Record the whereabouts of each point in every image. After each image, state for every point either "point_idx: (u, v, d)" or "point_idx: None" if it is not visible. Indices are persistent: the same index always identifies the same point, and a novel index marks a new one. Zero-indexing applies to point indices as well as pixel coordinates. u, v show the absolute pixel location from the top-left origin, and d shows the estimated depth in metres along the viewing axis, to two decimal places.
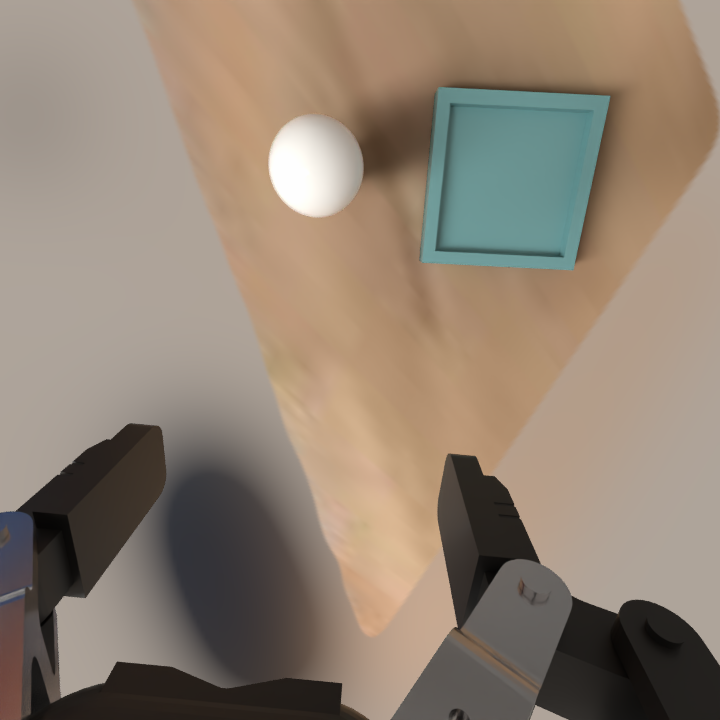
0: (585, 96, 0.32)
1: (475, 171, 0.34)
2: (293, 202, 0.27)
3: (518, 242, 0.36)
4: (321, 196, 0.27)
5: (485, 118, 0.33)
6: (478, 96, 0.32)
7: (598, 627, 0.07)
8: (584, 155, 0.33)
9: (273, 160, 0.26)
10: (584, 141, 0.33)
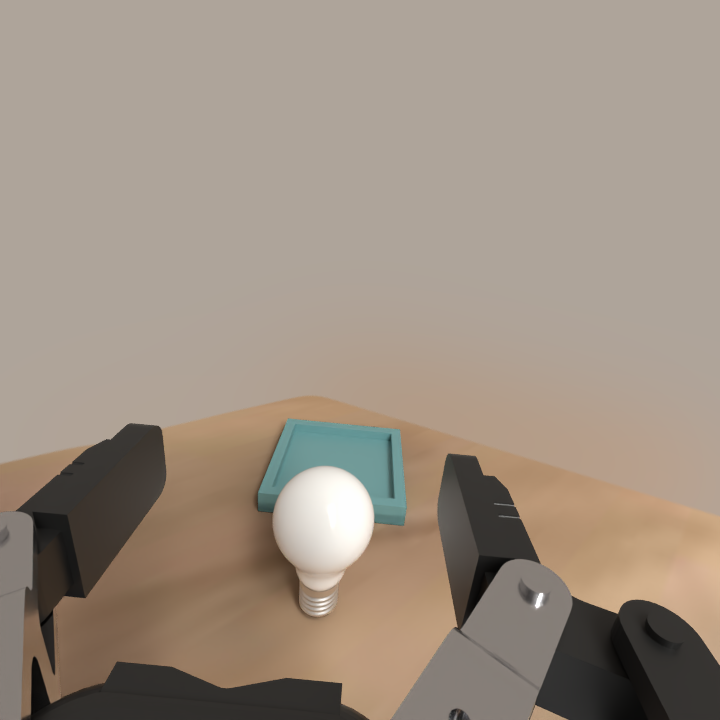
0: (286, 426, 0.47)
1: None
2: (361, 513, 0.25)
3: (381, 459, 0.45)
4: (357, 481, 0.26)
5: (286, 475, 0.41)
6: (271, 471, 0.39)
7: (598, 627, 0.07)
8: (322, 426, 0.48)
9: (317, 521, 0.23)
10: (312, 430, 0.48)
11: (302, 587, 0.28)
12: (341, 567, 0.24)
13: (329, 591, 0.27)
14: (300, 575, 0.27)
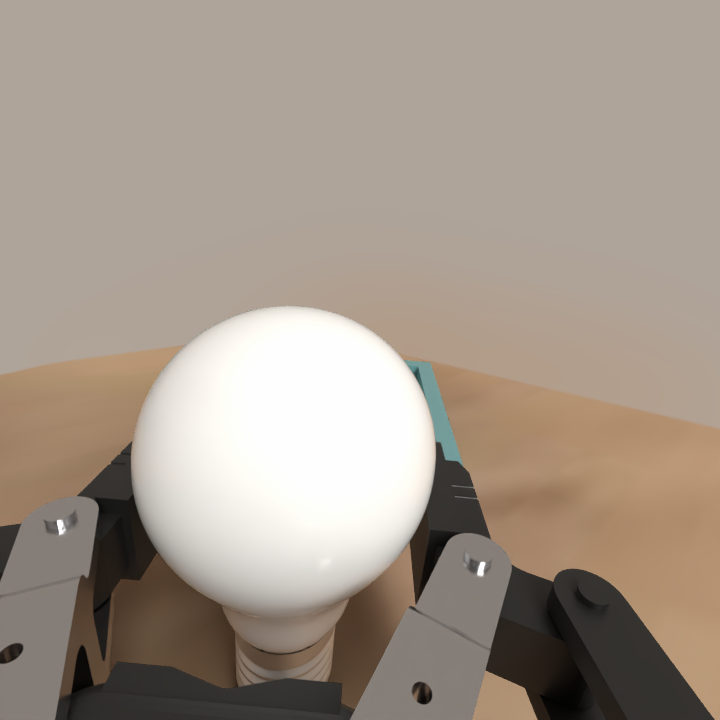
0: None
1: None
2: (407, 415, 0.08)
3: None
4: (385, 342, 0.09)
5: None
6: None
7: (536, 594, 0.08)
8: None
9: (254, 426, 0.06)
10: None
11: (238, 640, 0.10)
12: (341, 593, 0.07)
13: (309, 652, 0.10)
14: (226, 611, 0.09)
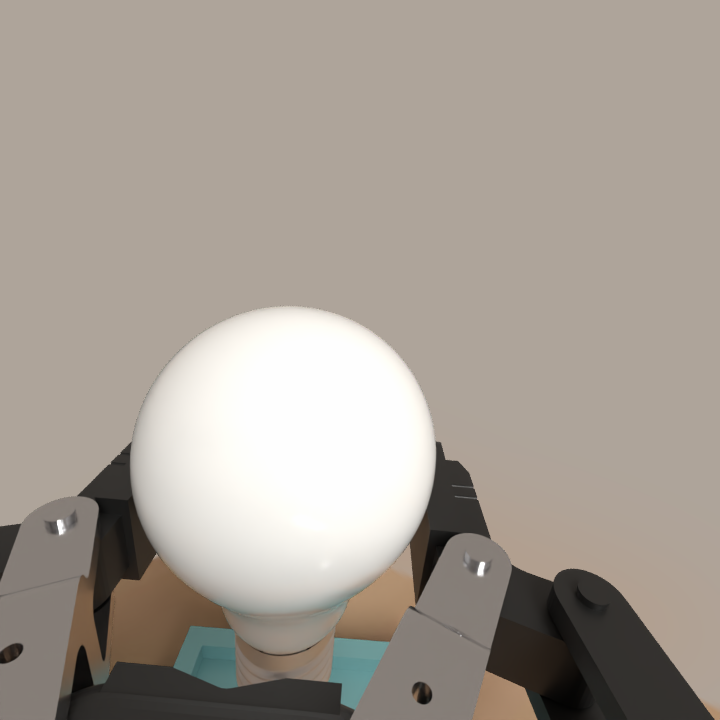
0: (179, 660, 0.22)
1: None
2: (408, 415, 0.08)
3: None
4: (385, 342, 0.09)
5: None
6: None
7: (537, 594, 0.08)
8: None
9: (253, 427, 0.06)
10: None
11: (238, 641, 0.10)
12: (341, 595, 0.07)
13: (309, 653, 0.10)
14: (226, 613, 0.09)
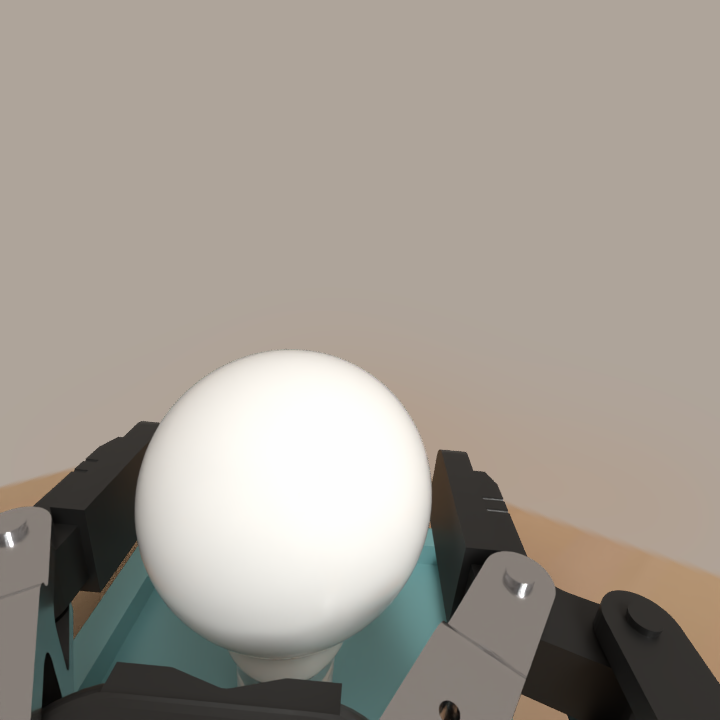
0: None
1: None
2: (403, 464, 0.08)
3: None
4: (382, 385, 0.09)
5: None
6: None
7: (581, 617, 0.07)
8: None
9: (255, 484, 0.07)
10: None
11: (240, 671, 0.11)
12: (340, 639, 0.08)
13: None
14: None
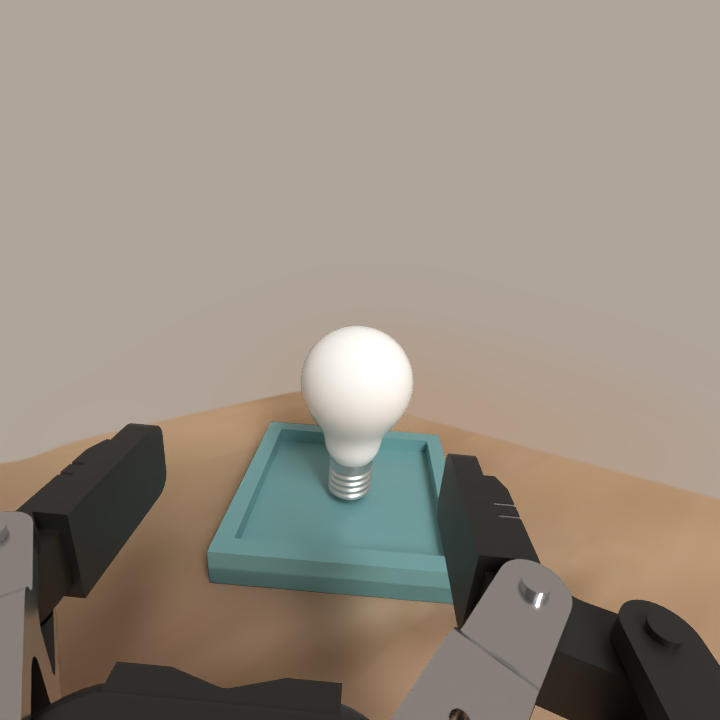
0: (267, 433, 0.31)
1: (329, 522, 0.24)
2: (401, 363, 0.22)
3: (416, 481, 0.28)
4: (393, 339, 0.24)
5: (263, 513, 0.25)
6: (236, 509, 0.23)
7: (598, 627, 0.07)
8: (322, 432, 0.32)
9: (354, 364, 0.21)
10: (308, 438, 0.32)
11: (333, 465, 0.25)
12: (380, 423, 0.22)
13: (363, 468, 0.25)
14: (332, 446, 0.24)
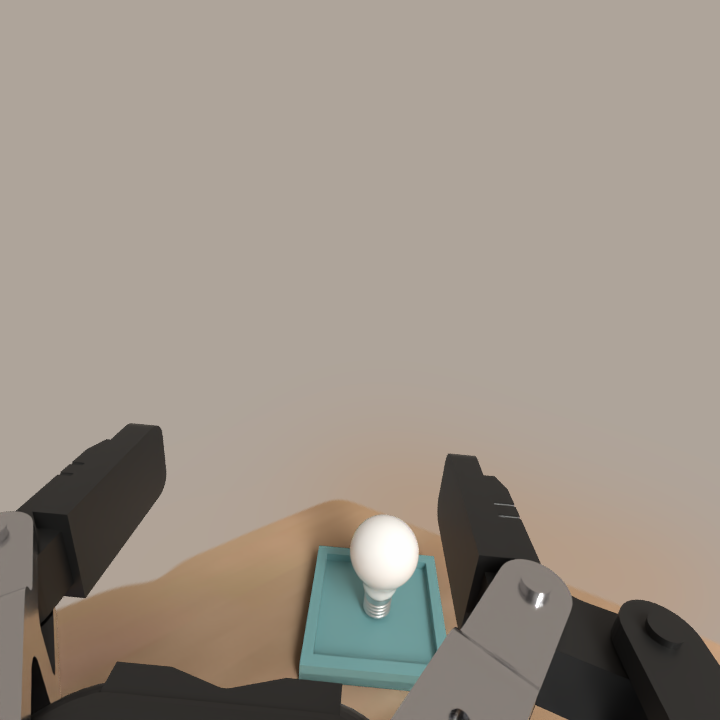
0: (318, 558, 0.46)
1: (365, 635, 0.39)
2: (412, 549, 0.37)
3: (418, 598, 0.43)
4: (407, 526, 0.38)
5: (324, 628, 0.40)
6: (310, 630, 0.38)
7: (598, 627, 0.07)
8: None
9: (385, 555, 0.36)
10: (345, 559, 0.47)
11: (368, 598, 0.40)
12: (399, 585, 0.37)
13: (387, 601, 0.40)
14: (368, 590, 0.39)
